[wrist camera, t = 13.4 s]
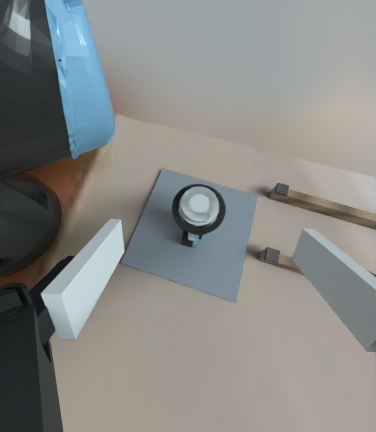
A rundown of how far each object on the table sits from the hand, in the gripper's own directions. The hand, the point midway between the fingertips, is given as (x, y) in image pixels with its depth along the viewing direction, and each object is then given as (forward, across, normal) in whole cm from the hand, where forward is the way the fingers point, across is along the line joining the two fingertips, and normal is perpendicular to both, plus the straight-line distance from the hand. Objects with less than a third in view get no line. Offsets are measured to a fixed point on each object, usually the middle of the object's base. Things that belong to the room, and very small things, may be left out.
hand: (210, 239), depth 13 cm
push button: (+12, 0, -6) cm, 13 cm away
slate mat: (+12, -1, -6) cm, 14 cm away
